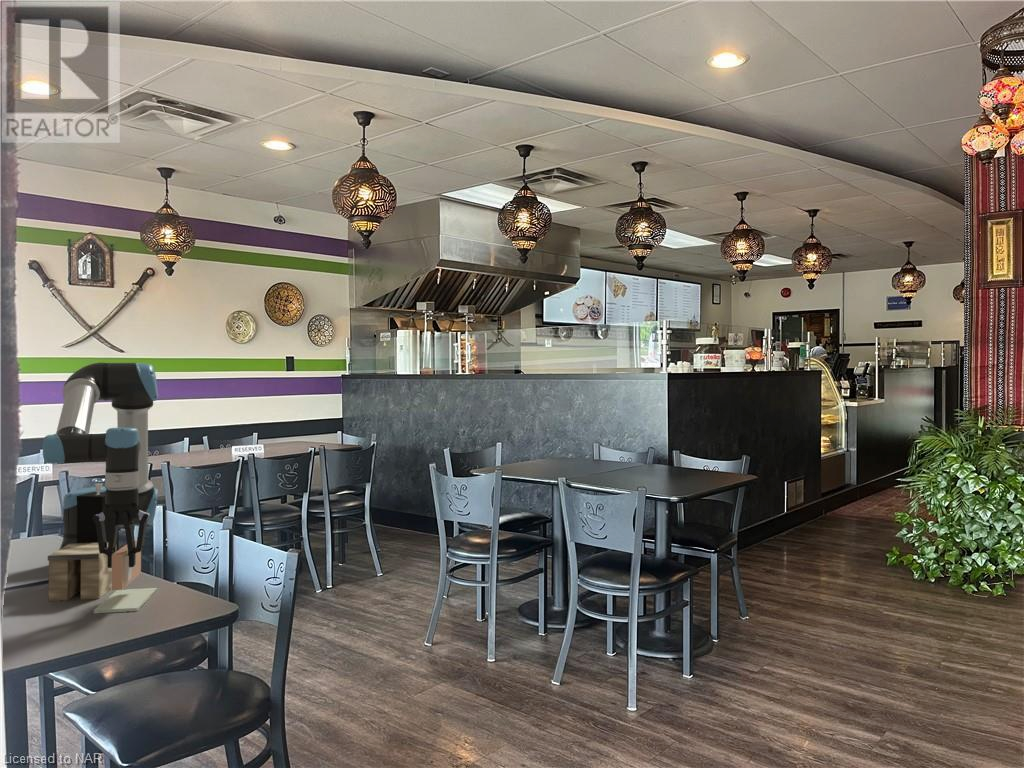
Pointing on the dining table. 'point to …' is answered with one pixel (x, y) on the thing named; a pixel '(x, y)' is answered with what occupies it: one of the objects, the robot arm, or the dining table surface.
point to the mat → (125, 600)
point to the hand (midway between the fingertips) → (121, 579)
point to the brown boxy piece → (79, 572)
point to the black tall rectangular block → (86, 510)
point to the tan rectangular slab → (123, 568)
